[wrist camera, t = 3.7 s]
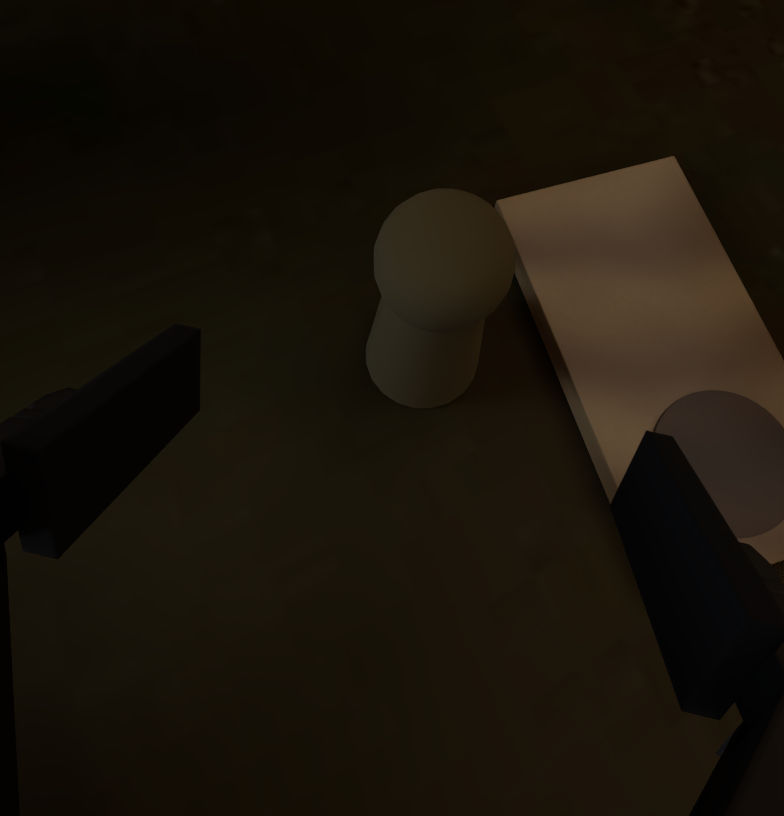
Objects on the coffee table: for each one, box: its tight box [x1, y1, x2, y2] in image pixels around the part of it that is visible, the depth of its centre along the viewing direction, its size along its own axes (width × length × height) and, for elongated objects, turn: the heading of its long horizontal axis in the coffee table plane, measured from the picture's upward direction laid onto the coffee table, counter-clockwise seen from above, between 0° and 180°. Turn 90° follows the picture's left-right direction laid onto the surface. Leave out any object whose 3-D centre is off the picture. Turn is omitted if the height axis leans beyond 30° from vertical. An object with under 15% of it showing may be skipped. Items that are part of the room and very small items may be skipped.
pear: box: [366, 189, 516, 408], centre depth 24 cm, size 6×6×11 cm
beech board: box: [494, 156, 784, 564], centre depth 28 cm, size 22×11×2 cm, turn 17°
